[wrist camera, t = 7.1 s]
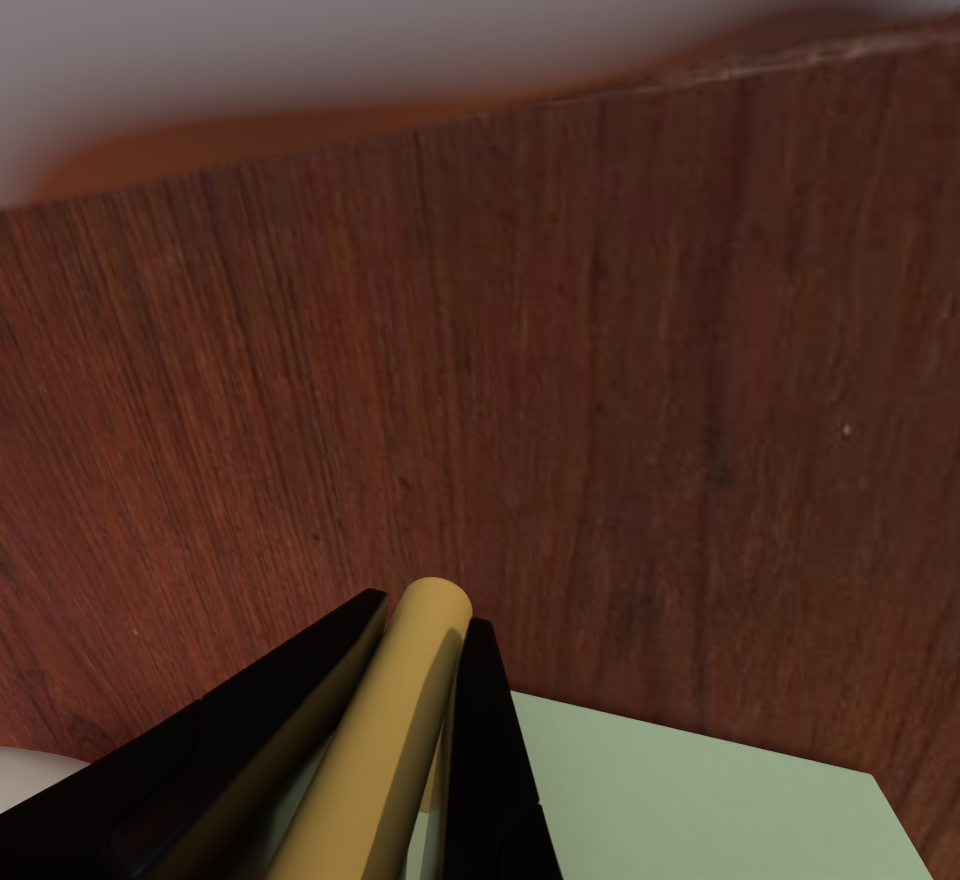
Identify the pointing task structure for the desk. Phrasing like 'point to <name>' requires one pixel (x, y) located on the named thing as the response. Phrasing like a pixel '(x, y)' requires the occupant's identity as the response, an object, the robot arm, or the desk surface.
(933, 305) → the desk surface
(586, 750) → the door
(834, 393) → the desk surface
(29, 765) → the bowl
